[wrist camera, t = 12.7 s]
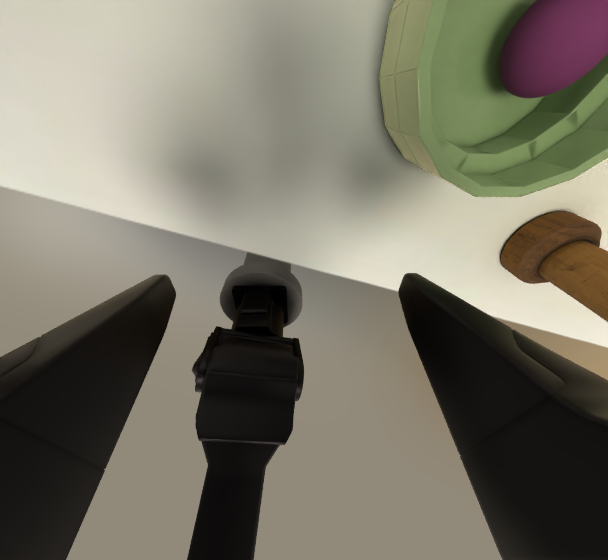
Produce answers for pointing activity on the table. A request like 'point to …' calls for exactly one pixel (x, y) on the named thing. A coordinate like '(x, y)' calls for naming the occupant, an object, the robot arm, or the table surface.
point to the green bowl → (483, 102)
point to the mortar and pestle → (562, 258)
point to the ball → (553, 46)
